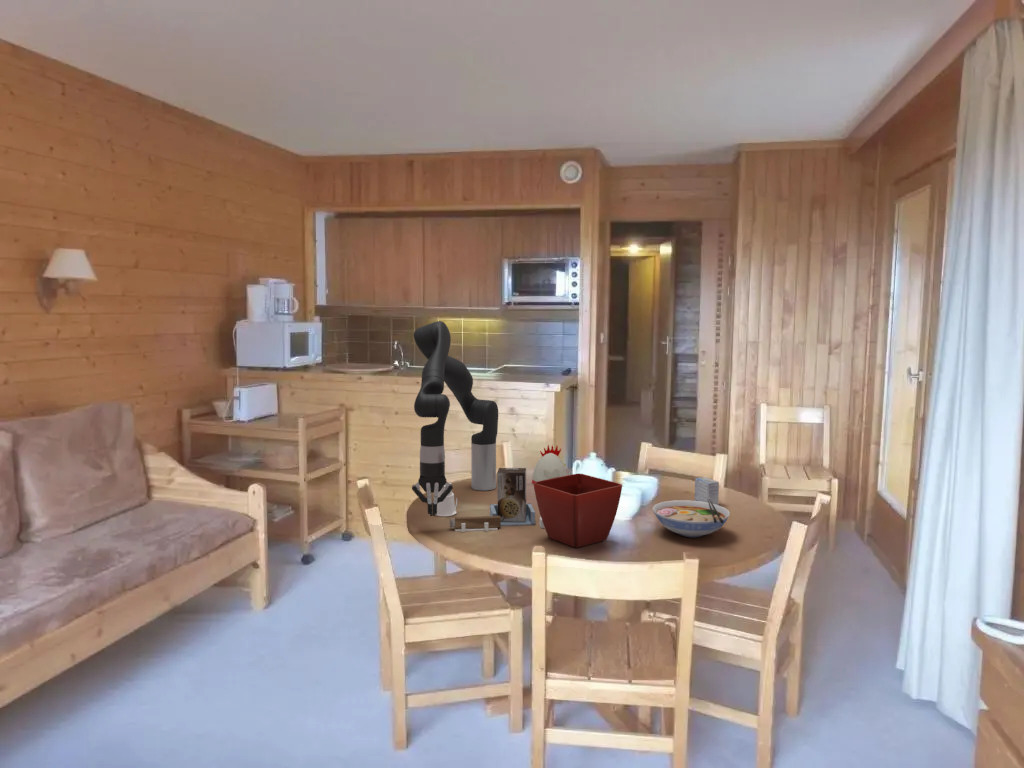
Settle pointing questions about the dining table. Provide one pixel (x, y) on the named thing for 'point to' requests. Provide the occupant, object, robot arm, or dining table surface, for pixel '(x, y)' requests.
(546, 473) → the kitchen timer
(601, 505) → the plant pot
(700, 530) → the ramen bowl
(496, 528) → the pin mount
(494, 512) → the dock
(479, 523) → the lock bar
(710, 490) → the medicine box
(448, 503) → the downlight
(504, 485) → the cookie box
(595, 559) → the dining table surface
